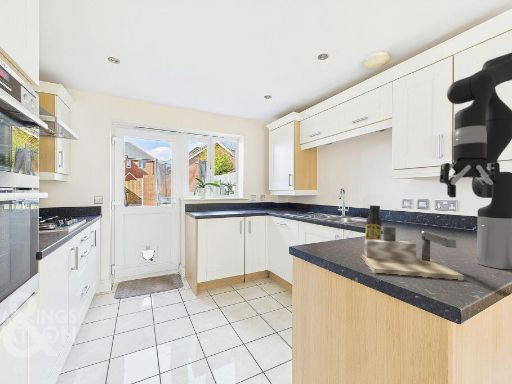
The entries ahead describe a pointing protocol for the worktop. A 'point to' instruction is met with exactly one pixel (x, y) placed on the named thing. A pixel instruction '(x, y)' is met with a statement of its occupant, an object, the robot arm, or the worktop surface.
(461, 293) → the worktop surface
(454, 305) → the worktop surface
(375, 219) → the sauce bottle
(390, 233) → the door frame board
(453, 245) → the latch bar
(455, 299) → the worktop surface
